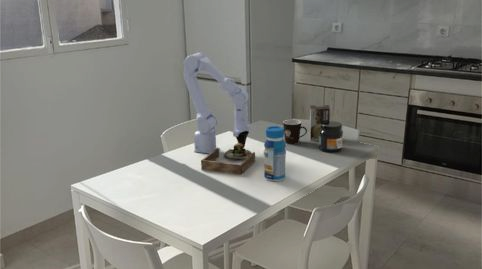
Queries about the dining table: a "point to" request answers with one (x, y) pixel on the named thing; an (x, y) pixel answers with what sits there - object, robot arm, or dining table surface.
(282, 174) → the beverage bottle
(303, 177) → the dining table surface
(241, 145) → the burger
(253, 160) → the box
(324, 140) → the supplement container
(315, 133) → the coffee box
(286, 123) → the coffee mug
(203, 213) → the dining table surface
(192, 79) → the robot arm
